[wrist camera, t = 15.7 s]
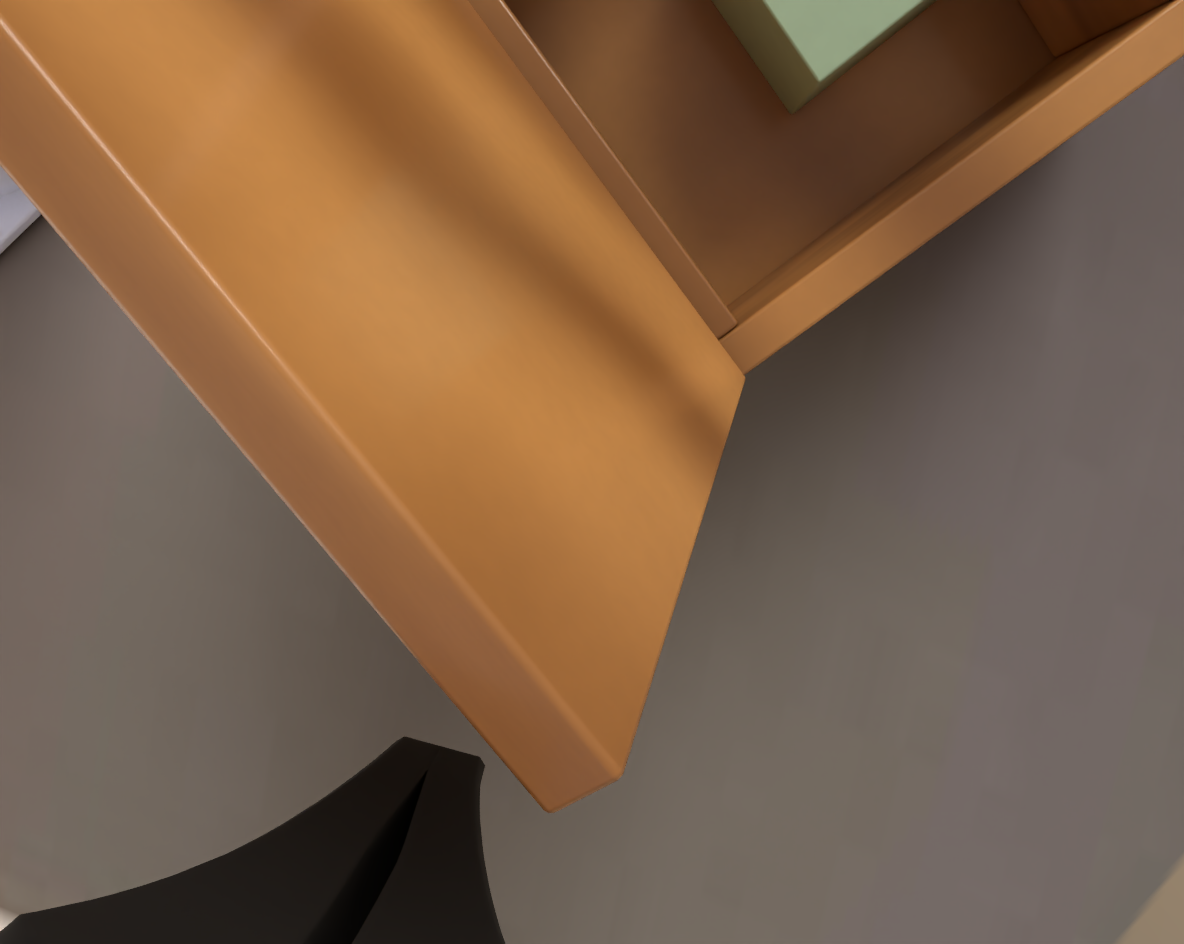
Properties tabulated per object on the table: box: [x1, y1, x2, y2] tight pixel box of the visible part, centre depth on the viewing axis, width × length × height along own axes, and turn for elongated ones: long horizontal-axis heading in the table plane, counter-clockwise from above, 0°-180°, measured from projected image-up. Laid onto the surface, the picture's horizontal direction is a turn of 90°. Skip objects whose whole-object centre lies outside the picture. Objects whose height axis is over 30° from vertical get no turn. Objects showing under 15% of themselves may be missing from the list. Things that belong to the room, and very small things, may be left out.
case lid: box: [0, 0, 745, 813], centre depth 10 cm, size 11×11×1 cm
